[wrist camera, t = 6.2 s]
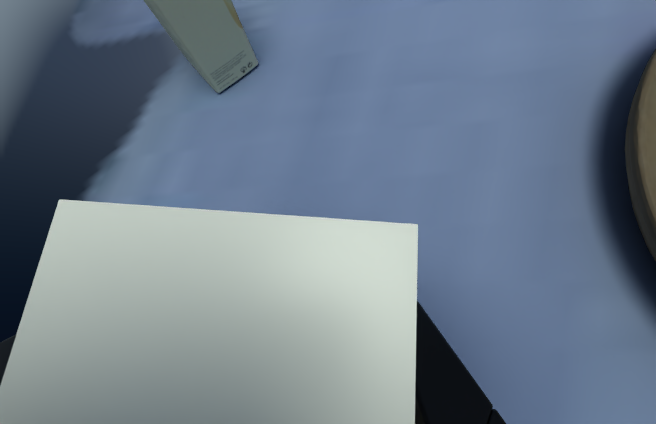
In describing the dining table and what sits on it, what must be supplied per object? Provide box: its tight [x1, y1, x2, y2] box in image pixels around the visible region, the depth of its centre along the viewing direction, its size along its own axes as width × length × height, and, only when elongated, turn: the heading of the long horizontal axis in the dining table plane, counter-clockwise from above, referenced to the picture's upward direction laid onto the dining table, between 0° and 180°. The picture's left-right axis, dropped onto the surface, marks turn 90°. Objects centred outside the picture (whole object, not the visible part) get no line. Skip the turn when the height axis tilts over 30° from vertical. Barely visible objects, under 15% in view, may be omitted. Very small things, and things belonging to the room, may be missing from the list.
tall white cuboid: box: [0, 200, 418, 424], centre depth 9 cm, size 4×6×10 cm
